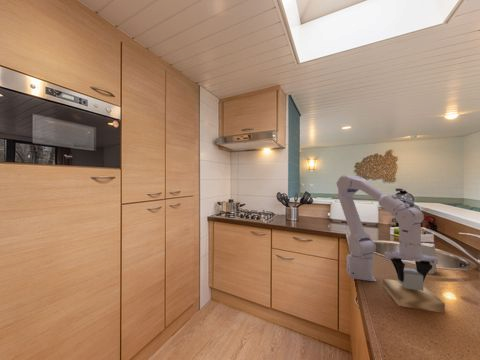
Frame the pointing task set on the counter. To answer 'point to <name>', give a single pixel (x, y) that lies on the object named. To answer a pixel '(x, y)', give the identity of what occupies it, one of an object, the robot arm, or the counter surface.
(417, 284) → the grey cube
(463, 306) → the counter surface
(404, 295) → the oak base
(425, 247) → the skincare box
